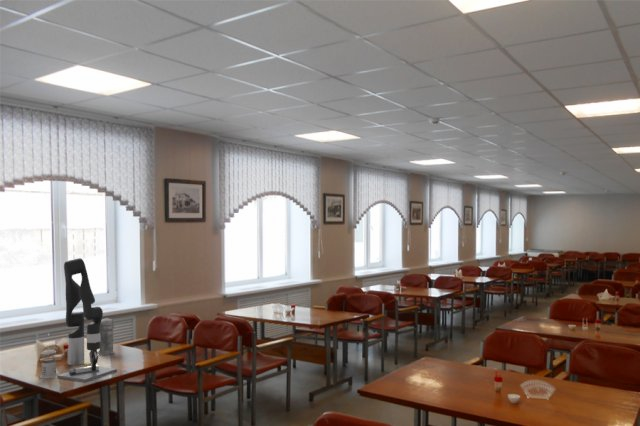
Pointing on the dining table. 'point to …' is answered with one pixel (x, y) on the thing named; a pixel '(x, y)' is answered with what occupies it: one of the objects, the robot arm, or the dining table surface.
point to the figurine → (106, 337)
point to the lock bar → (82, 369)
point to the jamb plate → (87, 374)
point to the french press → (48, 364)
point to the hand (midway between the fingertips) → (93, 370)
